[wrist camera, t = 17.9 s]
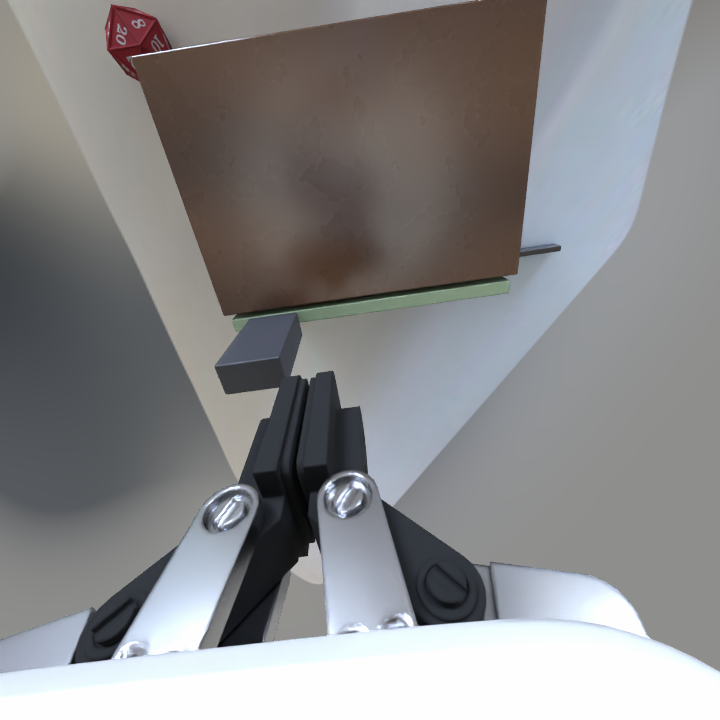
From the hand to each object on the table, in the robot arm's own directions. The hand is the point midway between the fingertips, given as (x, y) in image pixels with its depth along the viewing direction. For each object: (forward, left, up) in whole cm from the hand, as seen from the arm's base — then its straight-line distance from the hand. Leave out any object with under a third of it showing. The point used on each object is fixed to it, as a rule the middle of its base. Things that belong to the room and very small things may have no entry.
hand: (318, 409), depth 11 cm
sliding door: (0, +3, -22) cm, 23 cm away
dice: (-17, -10, -23) cm, 30 cm away
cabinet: (-6, +8, -23) cm, 25 cm away
